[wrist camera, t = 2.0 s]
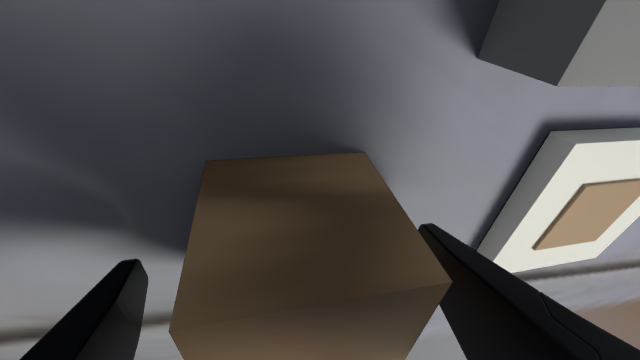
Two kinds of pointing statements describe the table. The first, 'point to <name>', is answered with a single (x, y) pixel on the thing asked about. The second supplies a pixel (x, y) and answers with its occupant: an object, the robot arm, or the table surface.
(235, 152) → the table surface
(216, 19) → the table surface
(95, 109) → the table surface
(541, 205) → the tile
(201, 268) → the walnut cube
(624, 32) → the charcoal base block
